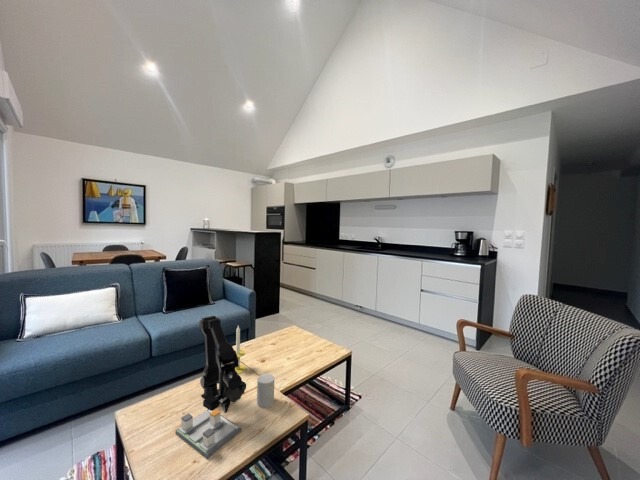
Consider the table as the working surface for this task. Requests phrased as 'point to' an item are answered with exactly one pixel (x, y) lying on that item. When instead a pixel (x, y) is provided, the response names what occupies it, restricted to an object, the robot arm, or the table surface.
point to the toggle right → (208, 437)
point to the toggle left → (186, 421)
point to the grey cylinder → (265, 390)
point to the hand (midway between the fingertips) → (225, 412)
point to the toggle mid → (215, 417)
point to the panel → (202, 423)
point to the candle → (239, 353)
